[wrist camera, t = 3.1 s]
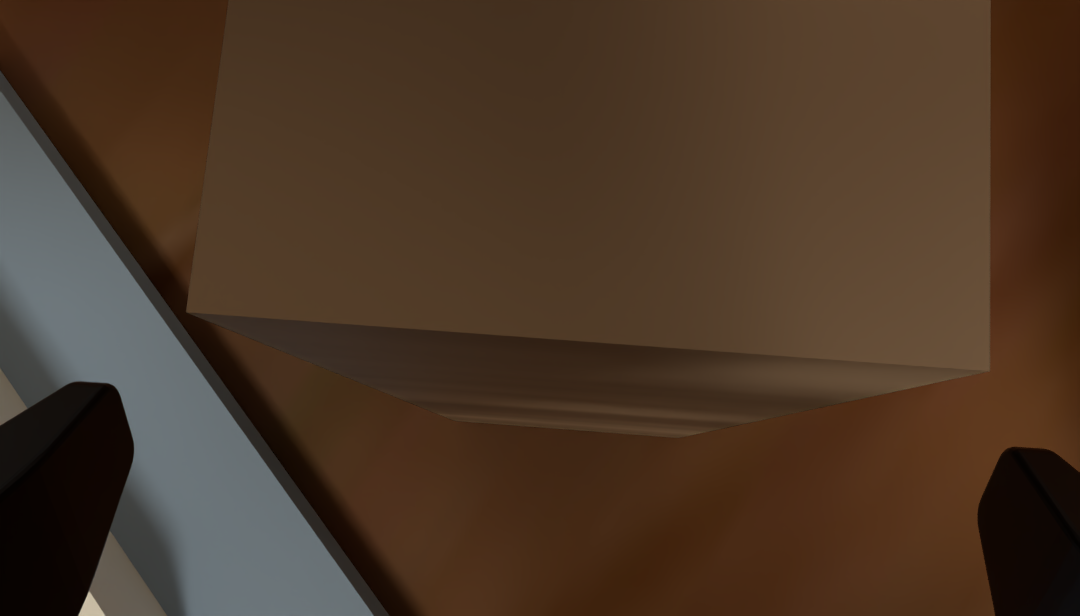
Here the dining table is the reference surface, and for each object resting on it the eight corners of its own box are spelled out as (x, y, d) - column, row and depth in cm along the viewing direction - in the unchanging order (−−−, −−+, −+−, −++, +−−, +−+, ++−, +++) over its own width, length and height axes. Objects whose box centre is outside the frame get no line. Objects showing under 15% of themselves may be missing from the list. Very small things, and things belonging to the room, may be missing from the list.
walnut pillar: (679, 437, 19) (989, 369, 5) (454, 420, 19) (185, 313, 5) (690, 219, 20) (992, -345, 6) (474, 204, 20) (280, -381, 6)
